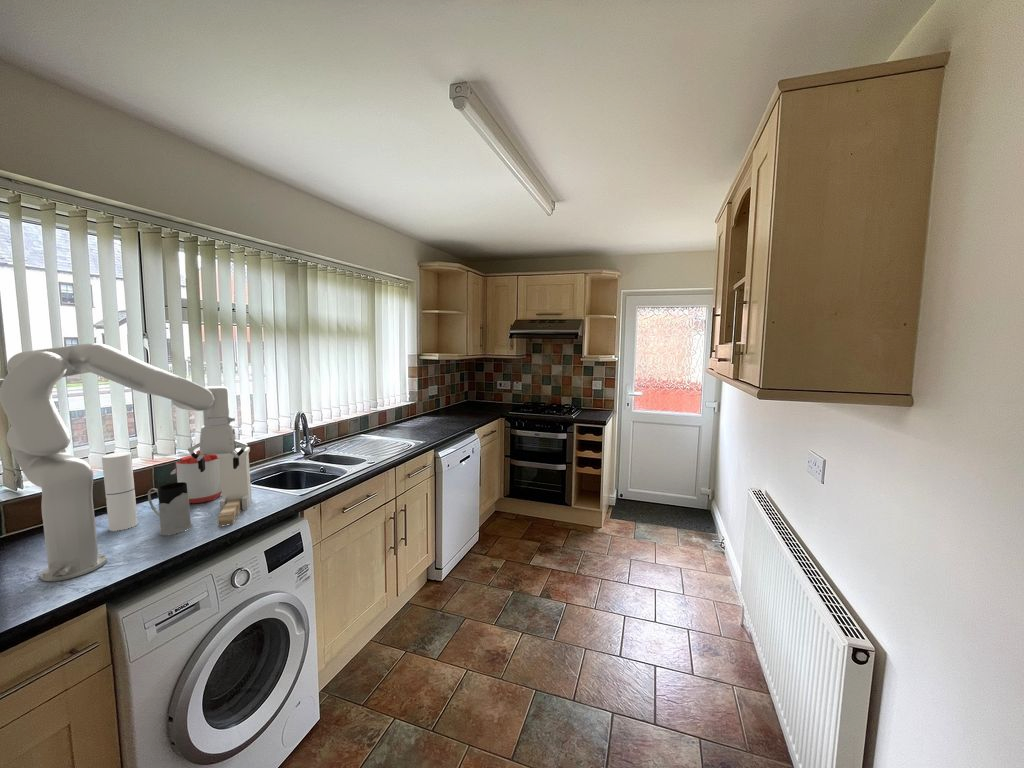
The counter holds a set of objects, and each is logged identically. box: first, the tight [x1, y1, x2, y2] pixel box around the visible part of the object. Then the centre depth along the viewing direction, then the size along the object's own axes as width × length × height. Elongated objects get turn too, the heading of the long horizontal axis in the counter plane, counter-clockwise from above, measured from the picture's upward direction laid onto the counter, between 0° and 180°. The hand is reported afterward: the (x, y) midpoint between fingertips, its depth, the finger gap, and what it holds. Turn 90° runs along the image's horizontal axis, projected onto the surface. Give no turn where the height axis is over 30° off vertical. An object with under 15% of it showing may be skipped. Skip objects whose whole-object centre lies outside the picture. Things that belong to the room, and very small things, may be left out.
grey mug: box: [147, 482, 194, 536], centre depth 139 cm, size 9×14×15 cm, turn 80°
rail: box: [217, 499, 243, 527], centre depth 149 cm, size 17×4×4 cm, turn 23°
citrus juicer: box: [170, 449, 222, 504], centre depth 166 cm, size 16×17×20 cm
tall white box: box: [217, 446, 253, 513], centre depth 157 cm, size 10×9×22 cm
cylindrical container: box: [101, 451, 138, 532], centre depth 140 cm, size 7×7×25 cm
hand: (219, 469), depth 146 cm, fingers open, 9 cm apart
